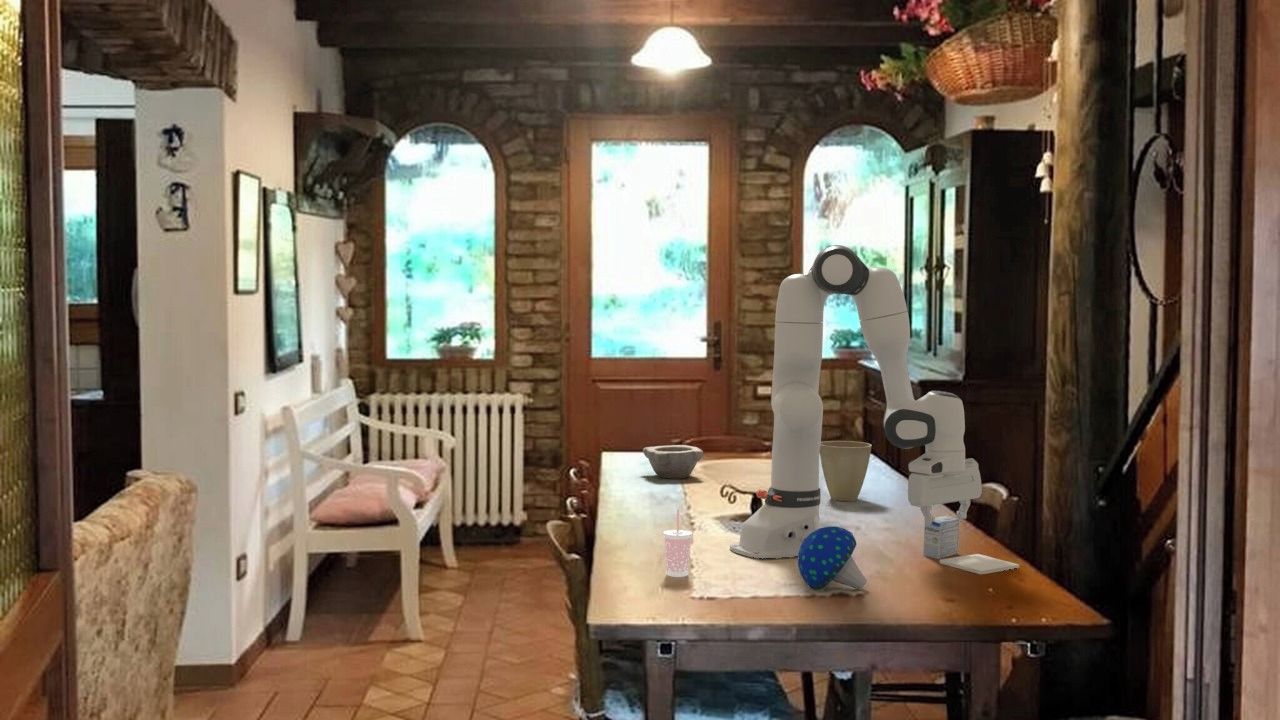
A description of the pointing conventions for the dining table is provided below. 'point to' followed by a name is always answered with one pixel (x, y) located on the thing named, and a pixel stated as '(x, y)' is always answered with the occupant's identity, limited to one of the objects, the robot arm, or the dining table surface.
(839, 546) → the mushroom
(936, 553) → the medicine box
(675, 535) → the beverage cup
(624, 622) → the dining table surface
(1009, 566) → the ceramic tile
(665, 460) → the mortar
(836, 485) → the plant pot
